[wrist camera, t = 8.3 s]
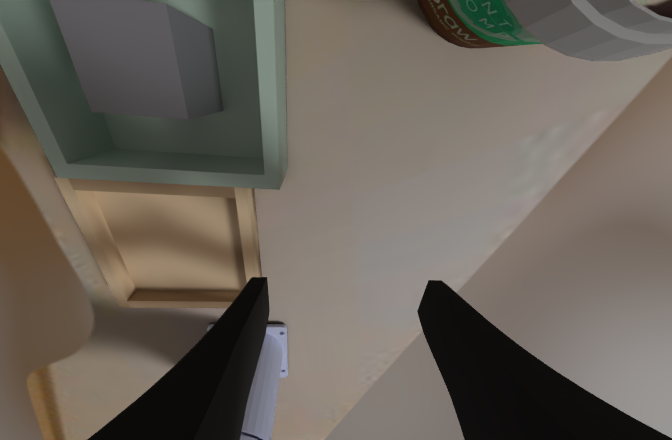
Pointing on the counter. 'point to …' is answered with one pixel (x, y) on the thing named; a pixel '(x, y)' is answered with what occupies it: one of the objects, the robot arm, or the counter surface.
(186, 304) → the oak tray
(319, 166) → the counter surface
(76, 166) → the green bin
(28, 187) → the counter surface
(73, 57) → the stone block
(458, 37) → the food container
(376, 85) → the counter surface
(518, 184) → the counter surface
